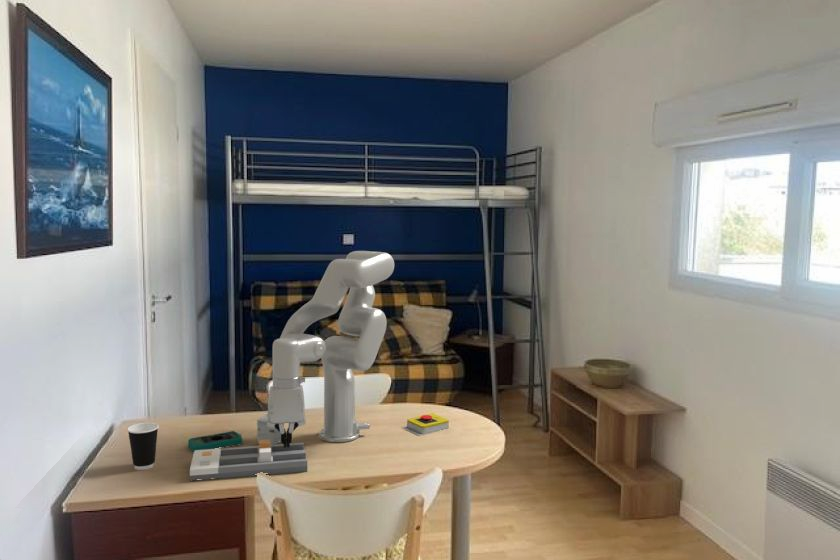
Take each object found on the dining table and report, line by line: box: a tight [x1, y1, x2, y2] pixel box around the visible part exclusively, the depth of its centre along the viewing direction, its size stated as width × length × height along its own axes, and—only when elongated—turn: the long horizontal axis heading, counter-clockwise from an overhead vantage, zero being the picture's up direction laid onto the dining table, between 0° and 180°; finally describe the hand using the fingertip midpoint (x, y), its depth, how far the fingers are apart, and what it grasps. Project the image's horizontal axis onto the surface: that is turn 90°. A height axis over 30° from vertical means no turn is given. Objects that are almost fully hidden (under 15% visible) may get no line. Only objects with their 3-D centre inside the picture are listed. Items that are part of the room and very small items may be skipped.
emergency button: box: [403, 413, 450, 436], centre depth 210 cm, size 9×4×15 cm
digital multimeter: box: [187, 430, 243, 453], centre depth 191 cm, size 7×15×3 cm, turn 124°
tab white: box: [258, 448, 273, 463], centre depth 173 cm, size 4×4×4 cm
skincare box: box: [256, 413, 285, 445], centre depth 195 cm, size 6×6×7 cm
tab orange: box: [257, 439, 272, 453], centre depth 179 cm, size 4×4×4 cm
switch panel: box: [189, 442, 308, 481], centre depth 175 cm, size 30×14×3 cm, turn 105°
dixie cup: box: [126, 422, 160, 471], centre depth 174 cm, size 8×8×11 cm
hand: (286, 445), depth 181 cm, fingers closed
